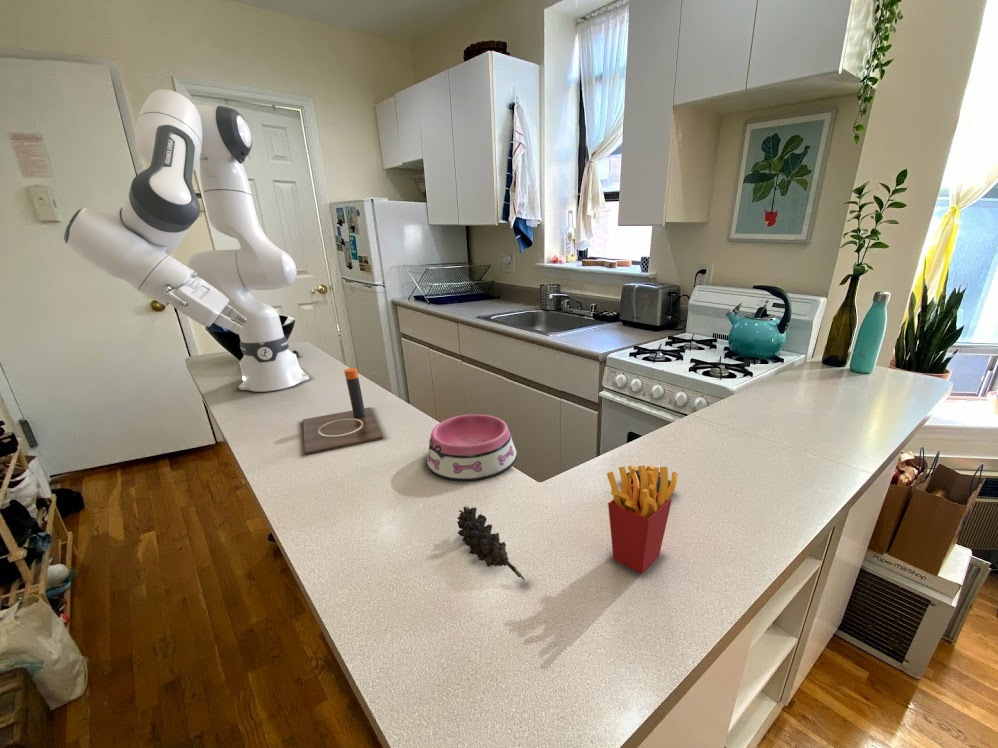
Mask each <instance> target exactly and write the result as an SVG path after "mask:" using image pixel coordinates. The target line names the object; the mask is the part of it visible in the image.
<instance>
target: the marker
mask: <svg viewBox="0 0 998 748" xmlns="http://www.w3.org/2000/svg"><path fill="white" fill-rule="evenodd" d="M343 372H344V376H345V381H346V385H347V390H348V395H349V400H350V405H351V409H352V410H351V411H353V415H354V417H362V416H364V415H365V409H364V408H365V404H364V400H363V394H362V389H361V383H360V379H359V373H358V368H356V367H349V368H345V369H344V370H343Z"/></svg>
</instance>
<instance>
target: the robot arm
mask: <svg viewBox="0 0 998 748" xmlns="http://www.w3.org/2000/svg"><path fill="white" fill-rule="evenodd" d="M249 127H250V126H249V125H248V123H247V121H246V119H245V118H244V116H243V115H242V114H241V113H240V112H239V111H238V110H237V109H235V108H232V107H228V106H223V105H218V106H212V105H201V104H194V103H193V102H192V101H191V100H190V99H189V98H188V97H186V96H184V95H183V94H182V93H179V92H177V91H175V90H171V89H164V88H163V89H162V88H161V89H157V90H154V91H153V92H151V93H150V94H149V95H148V96H147V98H146V100H145V101H144V103H143V105H142V106H141V108H140V111H139V112H138V116H137V119H136V123H135V128H134V145H135V150H136V152H137V154H138V155H139V156H140V158H142V159H143V160H144V161H145V162H146V163H147V164H148V165H149V167H147V168H146V169H144V170H143V171H141V172H139V173H138V174H137V175H135V176H134V177H133V179H132V181H131V185H130V188H129V190H128V191H129V192H128V195H127V197H126V199H125V201H124V204H123V206H121V207H118V208H113V209H105V210H102V209H101V210H100V209H99V210H98V209H91V208H88V207H81V208H80V209H78V210H77V211H76V212H75V213H74V214H73V215H72V217H71V219H69V222H68V224H67V226H66V228H65V231H64V234H63V240H64V243H65V244H66V245H67V247H69V248H70V249H71V250H72V251H73V252H74V253H75V254H77V256H79V257H80V258H83V260H85V261H87V262H89V263H90V264H92V266H94V267H96V268H98V269H100V270H101V271H103V272H105V273H107V274H108V275H110V276H112V277H114V278H118V279H120V280H123V281H125V282H127V283H128V284H129V285H130V286H132V287H133V288H134V289H135V290H137V291H138V292H140V293H141V294H143V295H145V296H147V297H149V298H150V299H152V300H154V301H156V302H157V303H159V304H161V305H163V307H167V306H169V305H170V306H171V307H173V308H174V309H176V310H177V311H178V312H180V313H182V314H183V315H185V316H187V317H188V318H190V319H192V320H193V321H195V322H197V323H198V324H200V325H201V326H205V327H207V328H210V327H211V326H212V325H213V324H215V325H217V326H218V327H220V328H223V329H225V330H228V331H231V332H232V333H234V334H235V335H238V337H239V340H240V341H239V347H240V350H241V353H242V355H243V357H242V358H241V359H240V361H239V362H238V363H239V367H240V368H239V369H240V371H241V375H242V376H241V377H242V382H241V383H240V384H239V385H238V390H240V391H251V392H256V393H257V392H258V393H260V392H261V393H262V392H273V391H278V390H285V389H288V388H291V387H294V386H297V385H298V384H300V383H303V382H306V381H309V380H310V377H309V374H307V373H306V371H304V370H303V369H302V368H301V364H299V362H298V358H299V356H300V354H299V352H298V351H297V350H295V349H293V350H292V351H291V350H290V349H289V347H290V346H289V341H288V339H287V337H286V335H285V334H284V330H283V326H282V322H281V318H280V314H279V312H278V311H277V310H276V308H275V307H273V306H272V305H270V304H268V303H264V302H261V301H260V300H257V299H256V298H255V297H254V296H252V295H251V293H250V291H267V290H268V291H269V290H277V289H282V288H287V287H290V286H292V285H293V284H294V283H295V281H296V279H297V273H298V272H297V265H296V263H295V261H294V259H293V258H292V257H291V256H290V254H289V253H287V251H285V250H284V249H281V248H280V247H278V246H277V245H275V244H274V243H273V242H272V241H271V240H270V239H269V237H268V236H267V234H266V233H265V232H264V231H263V228H262V226H261V224H260V221H259V218H258V215H257V211H256V206H255V202H254V197H253V193H252V188H251V185H250V181H249V178H248V174H247V173H246V170H245V168H244V165H243V163H245V161H246V157H248V156H249V154H250V152H251V150H252V147H253V138H252V134H251V133H252V132H251V130H250V128H249ZM198 164H199V177H200V178H199V179H200V183H201V184H200V185H201V190H202V195H203V200H204V204H205V209H206V213H207V217H208V221H209V223H210V226H212V227H213V228H214V229H215V230H216V231H218V232H219V233H221V234H223V235H225V236H228V237H230V238H234V239H235V240H237V242H238V243H239V246H240V248H238V249H212V250H207V251H202V252H198V253H194V254H192V255H191V256H190V258H189V260H188V262H187V265H185V264H183V263H182V262H181V261H179V260H178V259H176V258H174V257H173V256H171V255H172V254H173V253H174V252H176V251H177V249H178V248H179V246H180V244H181V243H182V242H183V239H184V238H185V236H186V234H187V233H188V231H189V230H190V228H191V227H192V226H193V225H194V223H195V222H196V221H197V220H198V218H199V217H200V214H201V205H200V201H199V199H198V195H197V193H196V191H195V188H194V186H193V185H194V184H193V173H194V171H195V169H196V168H197V165H198Z"/></svg>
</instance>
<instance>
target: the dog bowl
mask: <svg viewBox="0 0 998 748" xmlns="http://www.w3.org/2000/svg"><path fill="white" fill-rule="evenodd" d="M428 444H429V445H428V452H427V458H426V466H427V468H428V470H429V471H430V472H431V473H432V474H434V475H435V476H437V477H440V478H442V479H445V480H450V481H459V482H460V481H461V482H467V481H469V482H471V481H479V480H484V479H488V478H492V477H495V476H497V475H499V474H501V473H505V471H507V470H509V469H510V468H511V467H512V466H513V465H514V464H515V462H516V460H517V459H518V452H517V449H516V447H515V444H514V441H513V437H512V433H511V432H510V429H509V427H508V424H507V423H506V422H505V421H504V420H502V419H501V418H500V417H497V416H494V415H489V414H481V413H480V414H477V413H476V414H462V415H456V416H453V417H450V418H449V417H448V418H447V419H445V420H443V421H441V422H439V423H438V424H436V426H434V427H433V429H432V430H431V434H430V437H429V443H428ZM503 462H505V463H506V464H505V463H503ZM507 464H508V465H507ZM510 466H511V467H510Z"/></svg>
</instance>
